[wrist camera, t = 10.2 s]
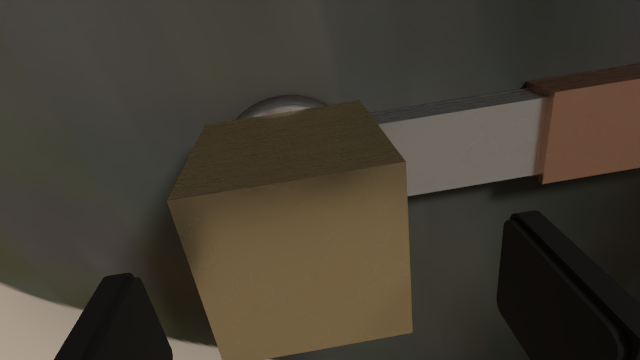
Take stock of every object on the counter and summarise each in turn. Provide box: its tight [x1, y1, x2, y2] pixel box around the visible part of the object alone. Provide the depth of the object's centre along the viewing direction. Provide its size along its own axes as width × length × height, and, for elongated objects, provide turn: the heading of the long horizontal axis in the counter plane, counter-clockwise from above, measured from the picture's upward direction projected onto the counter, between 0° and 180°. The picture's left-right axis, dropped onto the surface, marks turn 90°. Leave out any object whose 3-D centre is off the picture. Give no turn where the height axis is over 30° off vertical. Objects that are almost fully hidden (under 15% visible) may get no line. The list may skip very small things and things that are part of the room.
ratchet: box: [236, 64, 640, 196], centre depth 16 cm, size 24×6×6 cm, turn 98°
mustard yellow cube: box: [167, 100, 413, 360], centre depth 14 cm, size 6×6×6 cm
